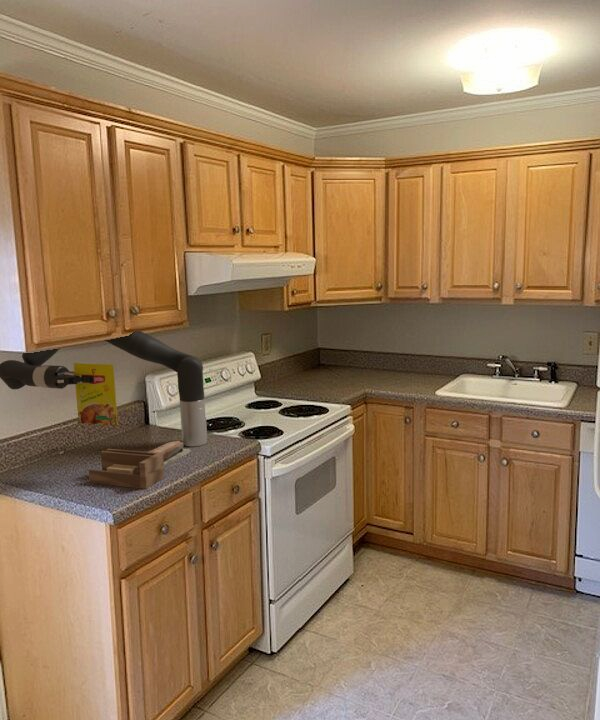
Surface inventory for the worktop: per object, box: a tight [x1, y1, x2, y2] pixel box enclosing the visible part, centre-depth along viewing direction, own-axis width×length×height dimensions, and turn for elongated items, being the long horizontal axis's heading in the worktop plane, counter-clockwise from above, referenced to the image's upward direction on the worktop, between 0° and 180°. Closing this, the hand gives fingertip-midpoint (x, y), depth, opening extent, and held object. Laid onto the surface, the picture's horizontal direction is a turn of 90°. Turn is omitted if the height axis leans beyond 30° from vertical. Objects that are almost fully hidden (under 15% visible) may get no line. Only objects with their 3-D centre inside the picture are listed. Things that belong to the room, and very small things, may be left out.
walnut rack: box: [88, 448, 165, 490], centre depth 187 cm, size 10×21×8 cm, turn 71°
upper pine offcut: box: [107, 464, 139, 474], centre depth 187 cm, size 4×9×2 cm, turn 71°
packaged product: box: [148, 440, 191, 468], centre depth 208 cm, size 18×5×10 cm
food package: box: [73, 362, 119, 427], centre depth 191 cm, size 15×1×20 cm, turn 71°
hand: (94, 378), depth 190 cm, fingers closed on food package, 1 cm apart
